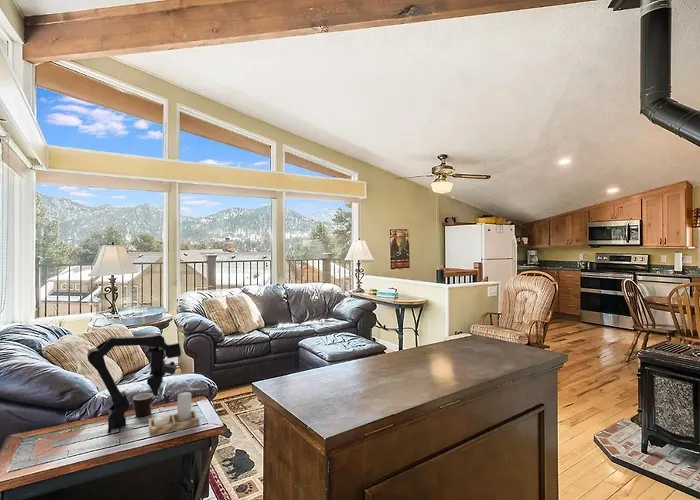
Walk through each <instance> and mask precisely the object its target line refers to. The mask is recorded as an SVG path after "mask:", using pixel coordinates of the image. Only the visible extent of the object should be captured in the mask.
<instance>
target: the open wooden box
mask: <svg viewBox="0 0 700 500" xmlns="http://www.w3.org/2000/svg"><path fill="white" fill-rule="evenodd" d="M168 416H170V424H169V425H164V426H159V427H154V419H155V418H156V417H154V418H153V417H152V418H149V419H148V430H149V433H148V434H149V435H150V436H151V435H156V434H160V433H167V432H170V431H175V430H179V429H183V428H184V429H185V428H189V427H193V426H198V425H199V417H198V415H197V412H196V410H191V420H188V421H183V422H178V418H177V413H173V414H169V415H168Z"/></svg>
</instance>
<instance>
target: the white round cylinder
mask: <svg viewBox="0 0 700 500" xmlns="http://www.w3.org/2000/svg"><path fill="white" fill-rule="evenodd" d="M154 418H155V419H154V427H159V426H164V425H169V424H170V416H168V415H167V414H166V415H165V414H164V415H158V416H156V417H154Z"/></svg>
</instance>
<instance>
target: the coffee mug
mask: <svg viewBox="0 0 700 500" xmlns="http://www.w3.org/2000/svg"><path fill="white" fill-rule="evenodd" d="M132 399H133V401H132V402H133V407H134V414H135V417H136V418H139V419H140V418H145V417H148V416H150V415H151V414H152V408H153V399H154V394H153V393H150V392H146V393H139V394H136V395H134V396H133V397H132Z"/></svg>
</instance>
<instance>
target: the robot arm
mask: <svg viewBox="0 0 700 500" xmlns="http://www.w3.org/2000/svg"><path fill="white" fill-rule="evenodd" d="M129 346H146V347H148V348H147V349H146V350H145V352H146V354H149V353H150V355H149V357H150V359H149V360H150V362H149V367H150V371H149V376H148V378H147V379H146V384H147V386H149V388H150V390H151V392H152V394H153V396H155V397H157V396H158V393H159V390H160V389H161V386H162V384H163V381H164V377H165V375H166V374H168V375H169V374H170V375H173V376H174V375H175V374H176V373H175V372H176V370H177V367H178V366H177V365H176V364H175V361H170V362H169V363H166V360H164V358H167V359H172V358H173V359H174V358H179V357H181V355H182V351H181V347H180V343H179V342H175V343H169V344H168V343H167V342H165V337H164V336H163V335H162V334H161V333H158V332H154V333H149V334H146V335H141V336H140V335H137V336H136V335H135V336H109V337H108V338H107V339H106V340H104V341H103V342H101V343H100V344H98V345H97V346H96V347H93V348H91V349H89V350H88V351H87V354H86V356H87V361H88V363H89V364H90V365H91V366H92V367H93V368H94V369H95V370H96V371H97V372H98V374H99V376H100V378H101V380H102V382H103V384H104V386H105V388H106V389H107V392H108V393H109V395H110V397H111V401H112V405H111V406H110V407H109V408H108V417H107V434H110V433H112V430H117V429H120V428H123V427H126V426H127V416H126V415H125V414H126V412H127V411H128V410H129V408H130V403H131V402H130V398H129V397H128V396H127V393H126V391H125V390H123V391H122V392H121V390H120V389H119V387H118V385H117V384H116V382H115V379H114V378H113V376H112V374H111V372H110V370H109V369H108V367H107V365H106V362H105V361H106V360H105V358H104V357H105V356H106V355H107V354H108V353H109V352H110V351H111V350H112V349H114V347H129Z"/></svg>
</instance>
